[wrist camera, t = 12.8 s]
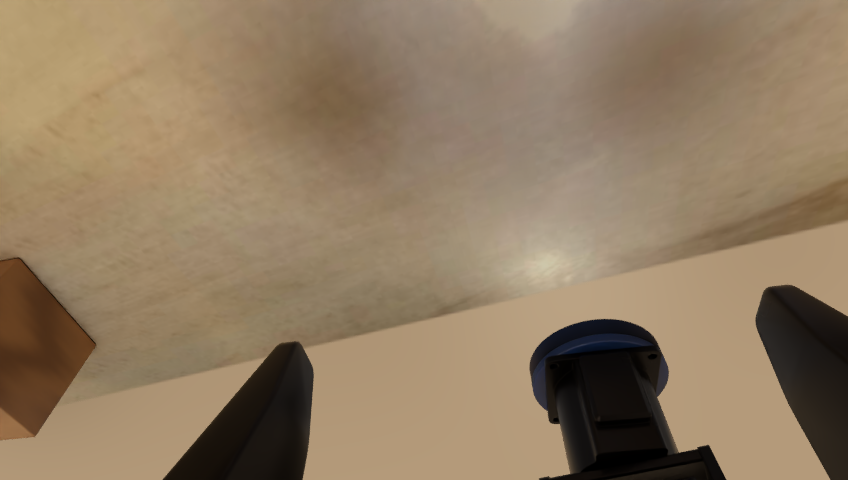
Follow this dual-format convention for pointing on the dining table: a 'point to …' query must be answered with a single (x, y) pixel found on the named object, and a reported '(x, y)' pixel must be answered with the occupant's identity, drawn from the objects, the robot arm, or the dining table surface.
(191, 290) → the dining table surface
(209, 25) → the dining table surface
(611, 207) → the dining table surface
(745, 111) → the dining table surface
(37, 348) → the stand
